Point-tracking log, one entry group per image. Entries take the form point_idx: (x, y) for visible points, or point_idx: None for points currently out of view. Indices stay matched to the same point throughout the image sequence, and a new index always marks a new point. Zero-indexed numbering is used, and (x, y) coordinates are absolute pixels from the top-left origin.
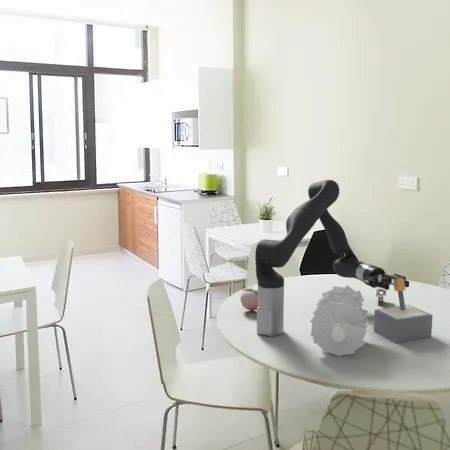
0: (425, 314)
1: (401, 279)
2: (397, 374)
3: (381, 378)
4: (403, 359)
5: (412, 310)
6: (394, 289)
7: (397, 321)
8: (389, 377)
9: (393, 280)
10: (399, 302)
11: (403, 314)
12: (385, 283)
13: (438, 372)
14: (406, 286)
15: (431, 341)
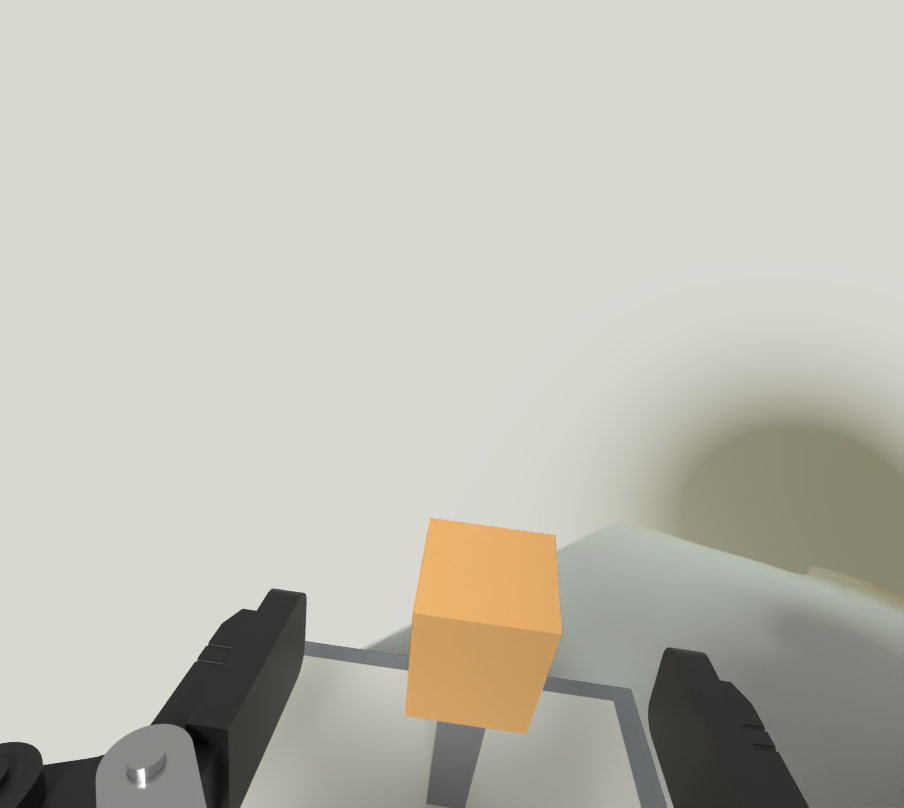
0: (327, 660)
1: (476, 529)
2: (736, 603)
3: (809, 611)
4: (656, 661)
5: (325, 776)
6: (531, 719)
7: (622, 694)
8: (775, 603)
9: (558, 629)
10: (473, 773)
11: (499, 742)
12: (723, 692)
13: (579, 558)
14: (296, 671)
15: None
